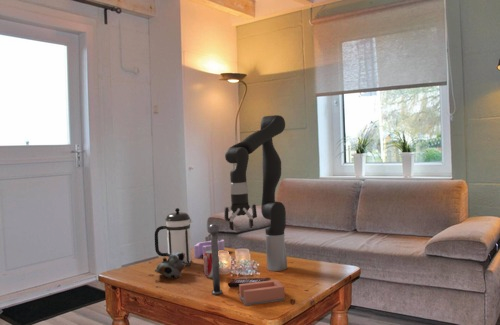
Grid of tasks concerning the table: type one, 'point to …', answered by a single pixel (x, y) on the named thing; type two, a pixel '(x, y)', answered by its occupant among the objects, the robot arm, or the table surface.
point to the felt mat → (260, 301)
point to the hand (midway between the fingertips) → (241, 228)
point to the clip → (206, 247)
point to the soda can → (208, 264)
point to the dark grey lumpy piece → (172, 265)
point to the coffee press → (176, 235)
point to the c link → (261, 291)
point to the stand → (215, 259)
